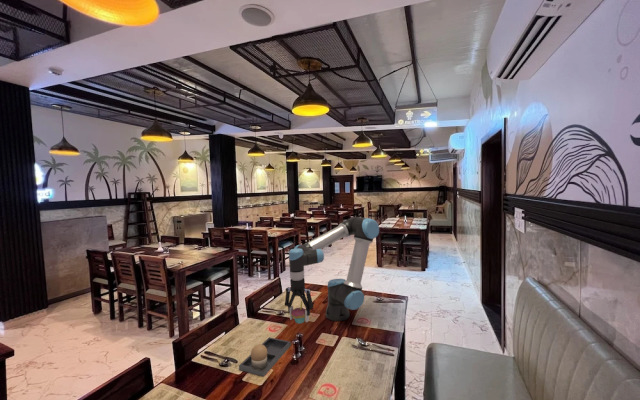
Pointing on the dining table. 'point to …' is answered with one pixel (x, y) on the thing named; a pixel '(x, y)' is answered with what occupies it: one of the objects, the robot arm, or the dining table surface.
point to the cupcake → (299, 314)
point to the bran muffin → (259, 356)
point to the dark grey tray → (274, 354)
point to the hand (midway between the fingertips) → (299, 319)
